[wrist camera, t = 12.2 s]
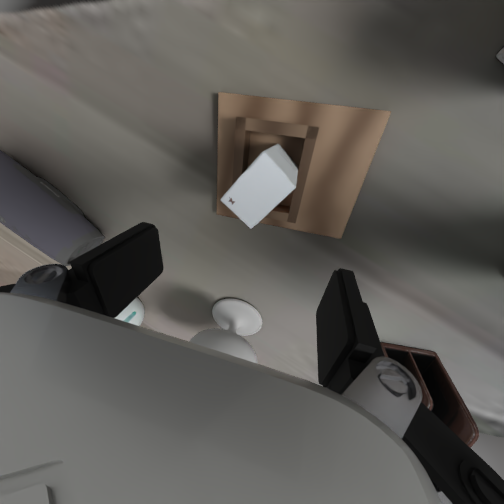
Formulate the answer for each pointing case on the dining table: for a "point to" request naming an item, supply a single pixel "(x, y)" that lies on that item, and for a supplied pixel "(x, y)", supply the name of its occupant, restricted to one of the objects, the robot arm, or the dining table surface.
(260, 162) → the skincare box
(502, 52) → the coffee box
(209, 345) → the chalice
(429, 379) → the letter holder
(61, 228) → the bluetooth speaker
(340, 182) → the box stand
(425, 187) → the dining table surface
